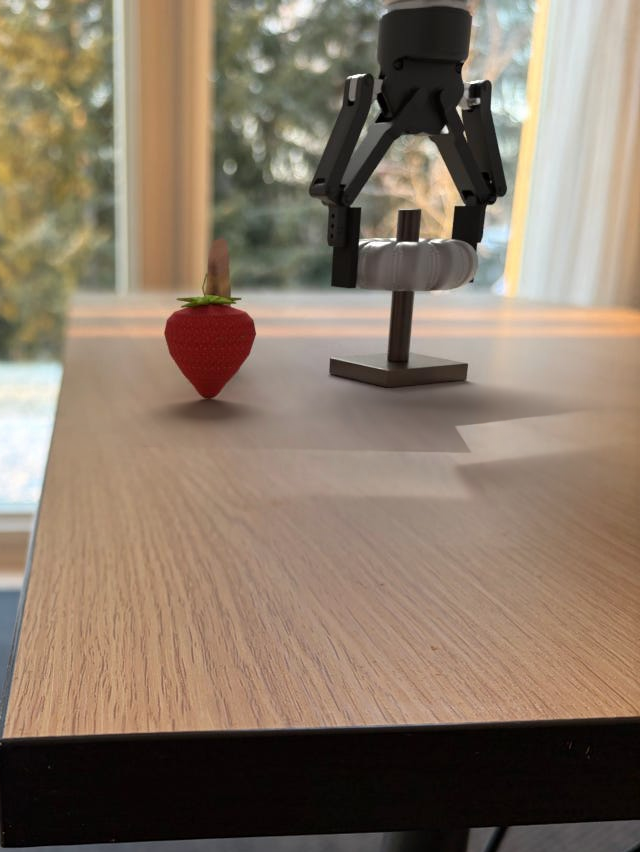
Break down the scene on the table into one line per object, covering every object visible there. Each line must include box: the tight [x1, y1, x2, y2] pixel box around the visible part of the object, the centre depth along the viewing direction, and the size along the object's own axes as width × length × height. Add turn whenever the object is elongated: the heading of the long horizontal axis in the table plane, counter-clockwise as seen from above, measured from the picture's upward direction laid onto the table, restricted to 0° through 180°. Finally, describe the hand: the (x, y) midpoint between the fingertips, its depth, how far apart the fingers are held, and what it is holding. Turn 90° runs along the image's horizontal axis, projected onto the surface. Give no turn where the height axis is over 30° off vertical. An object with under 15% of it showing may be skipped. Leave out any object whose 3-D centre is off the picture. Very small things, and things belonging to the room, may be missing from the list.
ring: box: [355, 237, 479, 292], centre depth 94 cm, size 12×12×4 cm
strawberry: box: [163, 272, 257, 400], centre depth 86 cm, size 6×8×10 cm
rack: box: [328, 208, 469, 388], centre depth 96 cm, size 9×9×14 cm
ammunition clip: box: [204, 236, 232, 307], centre depth 100 cm, size 11×2×12 cm, turn 172°
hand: (403, 284), depth 95 cm, fingers closed on ring, 12 cm apart
